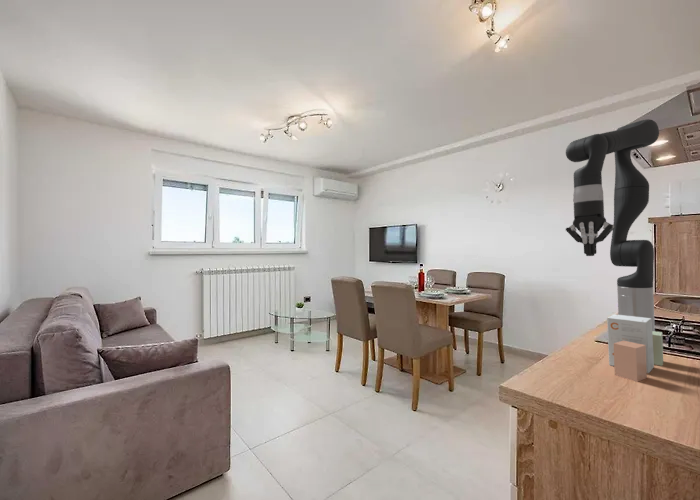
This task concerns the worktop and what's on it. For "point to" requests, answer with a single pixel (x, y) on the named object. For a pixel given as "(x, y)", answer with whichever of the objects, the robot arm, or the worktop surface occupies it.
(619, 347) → the terracotta block
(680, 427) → the worktop surface
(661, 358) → the sage block
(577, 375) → the worktop surface
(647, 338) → the small box
